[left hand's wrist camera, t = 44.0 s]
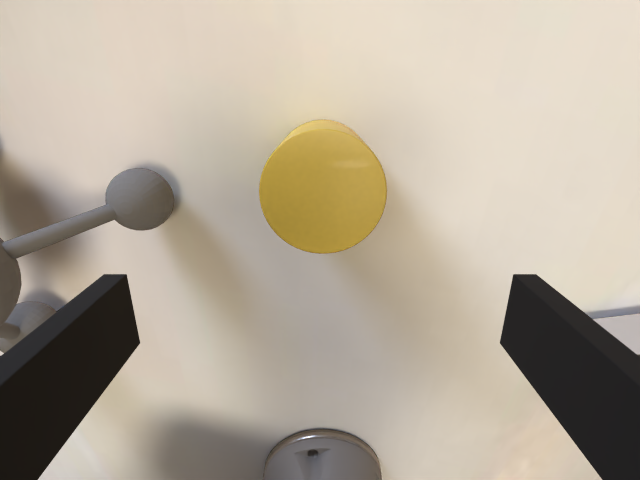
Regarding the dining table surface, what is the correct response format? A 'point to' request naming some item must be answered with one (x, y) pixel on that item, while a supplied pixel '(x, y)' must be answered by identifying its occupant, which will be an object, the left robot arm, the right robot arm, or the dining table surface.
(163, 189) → the molecular model
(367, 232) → the canister
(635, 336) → the electronic device
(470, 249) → the dining table surface
